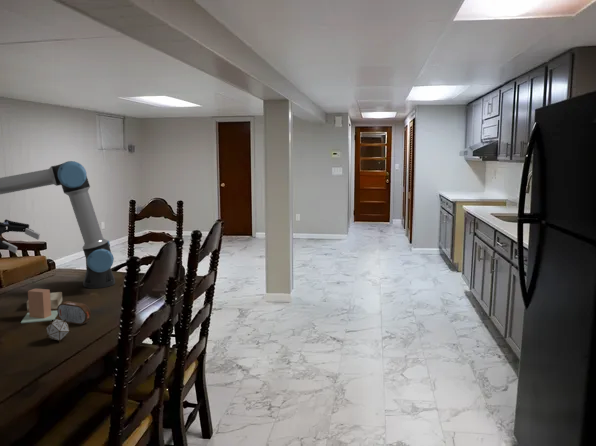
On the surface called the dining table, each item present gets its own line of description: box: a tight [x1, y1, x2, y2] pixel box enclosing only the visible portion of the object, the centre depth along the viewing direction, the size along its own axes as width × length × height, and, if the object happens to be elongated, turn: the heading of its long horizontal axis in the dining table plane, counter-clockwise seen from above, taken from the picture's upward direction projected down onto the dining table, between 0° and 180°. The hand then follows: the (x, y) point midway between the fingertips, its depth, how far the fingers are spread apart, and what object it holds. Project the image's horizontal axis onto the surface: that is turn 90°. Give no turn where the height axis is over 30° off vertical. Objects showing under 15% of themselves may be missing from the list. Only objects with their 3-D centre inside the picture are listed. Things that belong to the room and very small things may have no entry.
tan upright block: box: [27, 288, 52, 318], centre depth 196 cm, size 7×4×11 cm, turn 78°
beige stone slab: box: [26, 291, 63, 312], centre depth 211 cm, size 12×12×4 cm
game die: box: [43, 316, 73, 344], centre depth 172 cm, size 9×8×10 cm
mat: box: [20, 309, 58, 324], centre depth 197 cm, size 12×12×1 cm
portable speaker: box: [56, 300, 92, 326], centre depth 190 cm, size 15×3×8 cm, turn 71°
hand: (28, 243), depth 204 cm, fingers open, 13 cm apart
